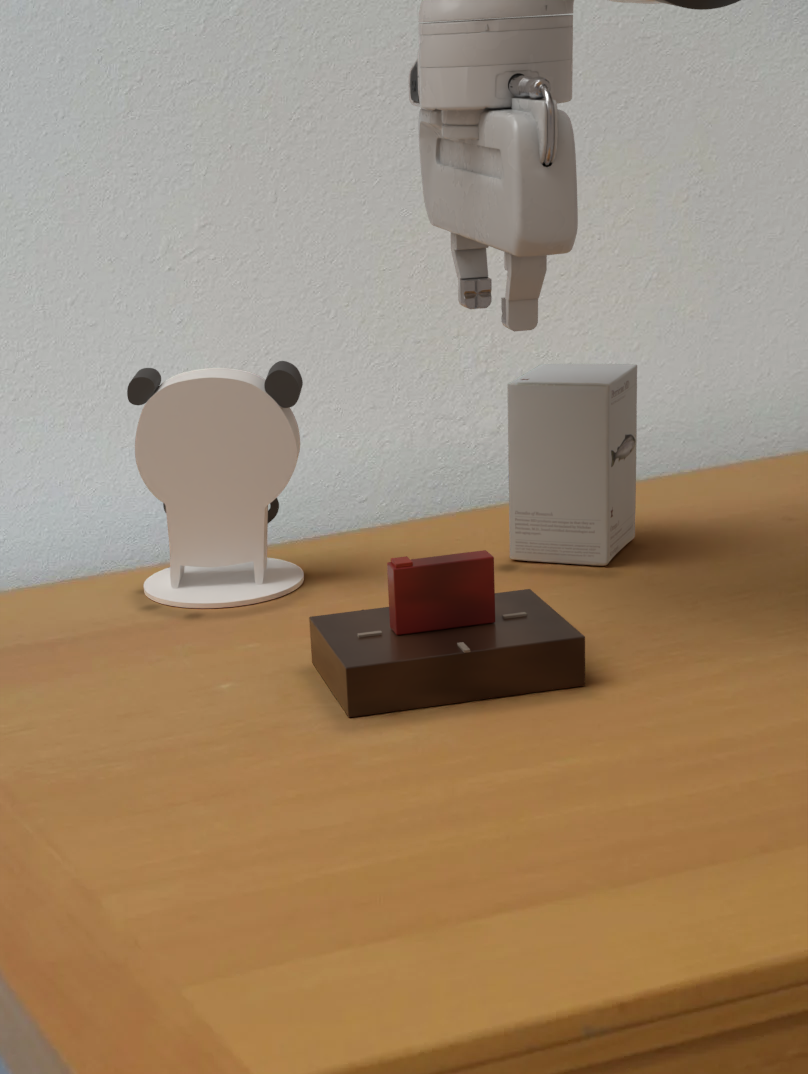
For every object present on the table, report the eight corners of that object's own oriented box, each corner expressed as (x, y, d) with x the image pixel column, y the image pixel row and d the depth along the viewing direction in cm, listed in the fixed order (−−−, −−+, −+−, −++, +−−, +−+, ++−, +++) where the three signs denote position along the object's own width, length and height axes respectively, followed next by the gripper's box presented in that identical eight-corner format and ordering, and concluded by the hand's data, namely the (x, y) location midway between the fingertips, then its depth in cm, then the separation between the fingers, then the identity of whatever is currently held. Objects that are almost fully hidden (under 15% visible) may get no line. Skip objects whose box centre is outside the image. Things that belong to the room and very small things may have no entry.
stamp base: (530, 634, 114) (529, 585, 113) (586, 686, 105) (586, 634, 103) (311, 662, 112) (308, 613, 111) (348, 718, 103) (345, 665, 101)
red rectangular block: (487, 615, 108) (486, 545, 106) (495, 622, 107) (494, 552, 105) (389, 627, 107) (386, 557, 106) (396, 635, 106) (393, 565, 104)
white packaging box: (608, 567, 125) (609, 383, 120) (506, 561, 129) (502, 381, 124) (638, 539, 131) (640, 361, 126) (540, 533, 135) (538, 360, 130)
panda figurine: (317, 556, 133) (304, 348, 127) (309, 603, 123) (294, 379, 117) (154, 564, 134) (134, 359, 128) (133, 611, 124) (110, 390, 118)
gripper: (609, 73, 96) (603, 339, 102) (498, 67, 115) (498, 292, 121) (494, 81, 96) (495, 348, 101) (401, 73, 114) (406, 300, 120)
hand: (496, 318), depth 111 cm, fingers open, 8 cm apart
